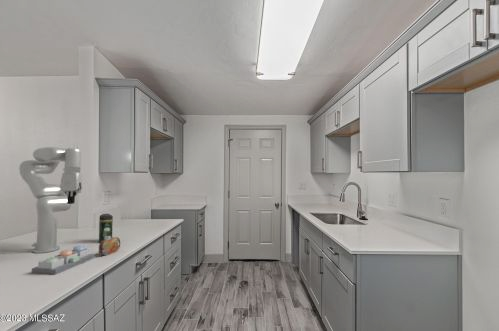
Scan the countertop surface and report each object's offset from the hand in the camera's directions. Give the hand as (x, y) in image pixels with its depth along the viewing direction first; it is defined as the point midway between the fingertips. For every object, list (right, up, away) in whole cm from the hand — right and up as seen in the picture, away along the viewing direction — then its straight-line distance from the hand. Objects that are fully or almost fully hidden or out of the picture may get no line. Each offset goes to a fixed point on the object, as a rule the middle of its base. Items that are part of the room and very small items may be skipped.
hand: (70, 203), depth 150 cm
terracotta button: (+8, -25, -16) cm, 30 cm away
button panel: (+8, -28, -16) cm, 33 cm away
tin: (+19, -29, +5) cm, 35 cm away
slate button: (+9, -25, -7) cm, 28 cm away
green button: (+7, -26, -24) cm, 36 cm away
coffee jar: (+2, -30, +32) cm, 44 cm away
